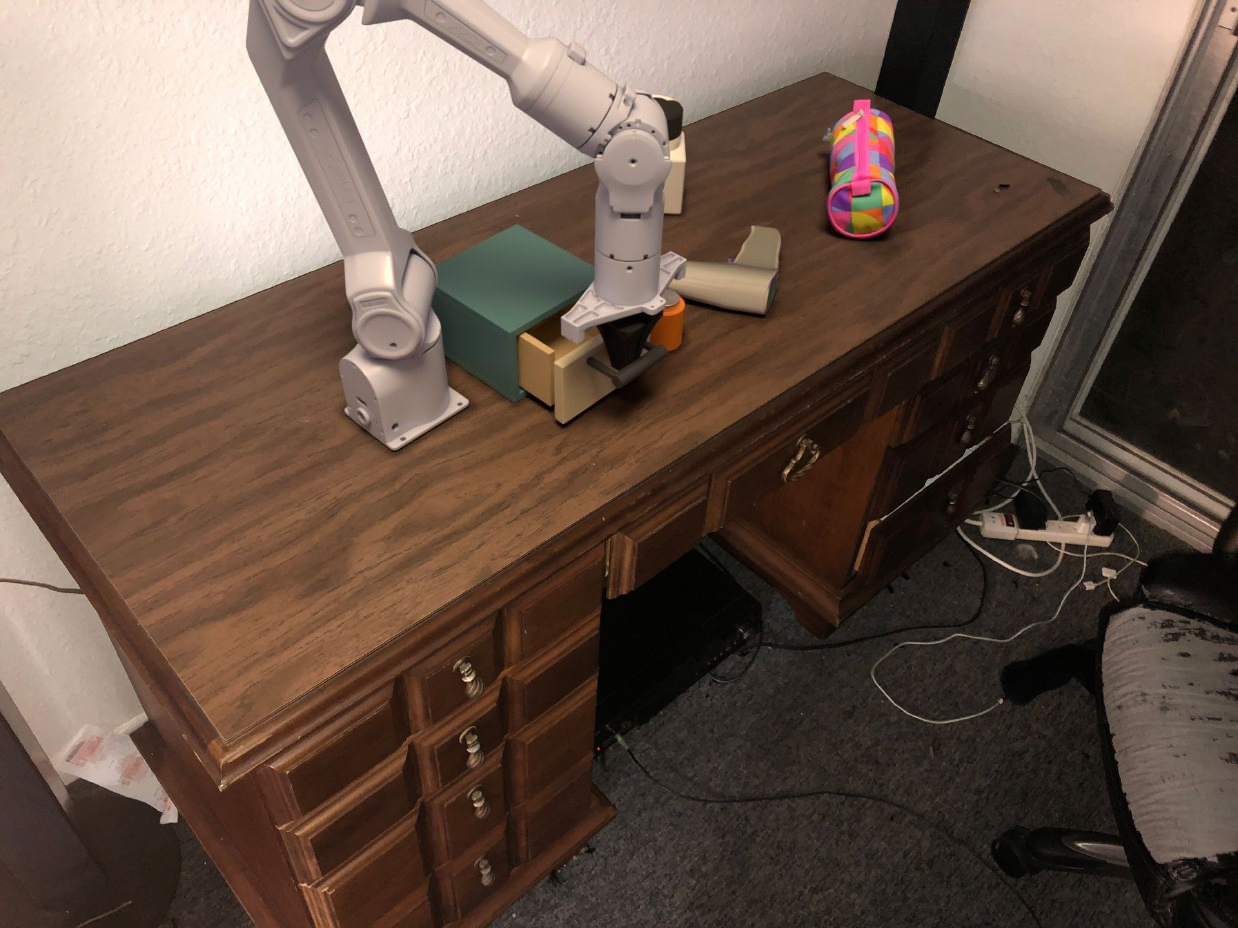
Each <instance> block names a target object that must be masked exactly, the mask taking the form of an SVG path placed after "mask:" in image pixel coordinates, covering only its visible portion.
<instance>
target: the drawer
mask: <svg viewBox="0 0 1238 928" xmlns="http://www.w3.org/2000/svg"><path fill="white" fill-rule="evenodd" d="M578 300H579V299H578ZM578 300H576V301H575V302H573V303H571V304H570V305H568V306H566V307H564V308H563V309H561V310H559V311H558V312H556V313H554V314H553V315H551V316H549V317H548V318H546V319H544V320H542V321H541V322H539V323H537V324H536V325H534V326H532V327H531V328H529V329H527V330H526V331H524V332H522V333H520V334H519V335H517V336H516V343H517V360H518V377H519V386H521V387H522V388H524V389H525V390H527V391H528V392H530V394H531V395H532V396H534V397H535V398H537V399H538V400H540V401H541V402H543V403H545V404H546V405H547V406H549V407H552V406H553V405H554V419H555V420H556V421H558V422H559V423H560V424H562V425H564V424H566V423H567V422H569V421H570V420H572V419H574V418H575V417H576V416H578V415H579V414H581V413H582V412H584V411H585V410H586V409H588V408H590V407H591V406H593V405H594V404H595V403H597V402H598V401H600V400H601V399H603V398H604V397H606V396H607V395H609V394H610V393H611V392H613V391H614V390H616V389H622V388H623V387H625V386H626V385H628V384H629V383H631V382H632V381H634V380H635V379H637V378H638V377H639V376H641V375H642V374H644V373H645V372H647V371H648V370H650V369H651V368H652V367H654V366H655V365H657V364H658V363H660V362H661V361H663V360H664V359H666V358H667V357H668V355H669V351H668V350H667V348H666V347H665V346H664V345H662V344H659V345H657V346H655V345H653V344H652V343H650V334H649V336H648V338H647V340H646V343H645V345H644V348H643V350H642V353H641V356H640V357H639V358H638V359H636V360H635V361H633V362H632V363H630V364H629V365H627V366H626V367H624V368H623V369H621V370H620V371H618V370H616V369H614V368H613V367H611V363H610V360H609V356H608V352H607V349H606V346H605V343H604V341H603V338H602V336H601V334H600V332H599V331H598V329H597V327H594V328H592V329H591V330H589V331H588V332H586V333H585V340H584V341H582V342H581V343H579V344H576V343H574V342H572V341H570V340H569V339H567V338H566V337H564V336H563V335H561V317H562V316H564V315H565V314H567V313H568V312H569V311H570V310H571V309H572V308H573V307H574V306H575V304H576V303H577V302H578Z"/></svg>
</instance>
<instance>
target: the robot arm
mask: <svg viewBox="0 0 1238 928" xmlns="http://www.w3.org/2000/svg"><path fill="white" fill-rule="evenodd" d="M248 3H249V4H248V13H247V23H246V24H247V25H246V34H245V35H246V36H245V48H246V52H247V55H248V58H249V60H250V62H251V64H252V67H253V69H254V71H255V73H256V75H257V77H258V80H259V81H260V83H261V85H262V88H263V89H264V92H265V94H266V96H267V98H268V100H269V102H270V105H271V106H272V110H273V111H274V113H275V115H276V117H277V119H278V122H279V124H280V125H281V128H282V130H283V132H284V134H285V136H286V138H287V141H288V143H289V144H290V148H291V149H292V151H293V153H294V155H295V157H296V159H297V162H298V164H299V167H300V168H301V170H302V172H303V175H304V176H305V179H306V180H307V183H308V185H309V187H310V189H311V192H312V193H313V196H314V197H315V200H316V202H317V204H318V206H319V208H320V210H321V212H322V215H323V217H324V219H325V221H326V223H327V225H328V227H329V229H330V232H331V234H332V236H333V239H334V240H335V242H336V244H337V246H338V249H339V251H340V254H341V255H342V258H343V267H344V285H345V295H346V300H347V301H348V303H349V305H350V308H351V311H352V319H351V331H352V334H353V337H354V339H355V341H356V343H357V344H356V345H355V347H353V348H352V349H351V350H350V351H349V352H348V353H347V354H346V355H345V356H343V357H342V358H341V359H340V360H339V362H338V372H339V377H340V381H341V385H342V389H343V395H344V398H345V404H346V407H345V408H344V415H346V416H347V417H348V418H350V419H351V420H352V421H354V423H356V424H357V425H359V426H360V427H362V428H363V429H364V430H365V431H367V433H369V434H370V435H372V436H373V437H374V438H375V439H377V440H378V441H379V442H380V443H382V444H383V445H384V446H385V447H387V448H389V450H391V451H398V450H400V449H401V448H404V447H405V446H406V445H408V444H410V443H411V442H413V441H414V440H416V439H417V438H419V437H421V436H422V435H424V434H426V433H427V432H429V431H430V430H432V429H433V428H435V427H437V426H438V425H440V424H442V423H444V422H445V421H446V420H448V419H450V418H452V417H453V416H454V415H456V414H457V413H460V412H461V411H463V410H464V409H466V408H467V407H469V406H470V401H469V399H468V398H466V397H465V396H463V395H462V394H460V393H459V392H458V391H456V390H455V389H453V388H452V387H451V386H449V381H448V372H447V365H446V357H445V356H444V348H443V340H442V332H441V325H440V322H439V320H438V318H437V316H436V315H435V313H434V311H433V309H432V307H431V303H432V299H433V294H434V293H435V290H436V287H437V284H438V273H437V269H436V267H435V265H436V264H434V262H433V260H432V259H431V258H430V257H429V256H428V255H427V254H426V253H424V251H422V250H421V249H420V248H419V246H418V245H417V243H416V241H415V239H414V236H413V234H412V232H411V231H410V230H408V229H406V228H402V227H400V226H399V225H398V222H397V219H396V217H395V215H394V212H393V209H392V207H391V205H390V203H389V200H388V198H387V196H386V193H385V190H384V188H383V186H382V183H381V181H380V179H379V177H378V174H377V171H376V169H375V166H374V164H373V161H372V160H371V157H370V155H369V152H368V149H367V147H366V145H365V142H364V141H363V137H362V135H361V132H360V131H359V128H358V126H357V124H356V121H355V118H354V115H353V114H352V111H351V109H350V107H349V104H348V101H347V99H346V96H345V93H344V92H343V89H342V87H341V85H340V82H339V79H338V78H337V75H336V72H335V70H334V67H333V65H332V62H331V60H330V57H329V56H328V53H327V51H326V43H327V40H328V39H329V37H330V34H331V32H333V31H334V30H335V29H336V28H338V27H339V26H340V25H341V24H342V23H344V22H345V21H346V19H348V18H349V16H351V15H352V13H353V11H354V10H355V8H356V6H357V7H361V8H363V12H362V16H361V26H362V25H363V26H374V25H379V24H384V23H391V22H397V21H403V20H408V21H412V22H413V23H415V24H416V25H418V26H420V27H421V28H422V29H425V30H426V31H428V32H429V33H431V34H432V35H434V36H436V37H437V38H439V39H440V40H442V41H443V42H445V43H447V44H448V45H449V46H452V47H453V48H454V49H456V50H458V52H459V51H460V52H461V53H462V54H464V55H466V56H467V57H468V58H471V59H472V60H473V61H475V62H477V63H478V64H480V65H482V66H483V67H485V68H486V69H488V70H489V71H491V72H493V73H494V74H496V75H497V76H499V77H500V78H502V79H504V81H506V83H507V86H508V89H509V93H510V98H511V102H512V105H513V106H514V107H515V108H517V109H518V110H519V111H521V112H523V113H524V114H525V115H527V116H528V117H530V118H531V119H532V120H534V121H536V122H537V123H538V124H540V125H541V126H543V127H544V128H546V129H547V130H548V131H550V132H551V133H552V134H553V135H555V136H557V137H558V138H559V139H561V140H562V141H564V142H566V144H568V145H569V146H571V147H572V148H574V149H575V150H576V151H578V152H579V153H582V154H583V155H585V156H588V157H590V158H592V159H593V166H594V171H595V173H596V175H597V177H598V180H599V181H598V182H599V184H598V186H597V190H596V193H595V197H594V198H595V202H594V203H595V205H594V206H595V208H594V210H595V211H594V218H595V219H594V267H595V268H594V281H593V282H592V284H591V285H590V286H589V287H588V289H587V290H586V291H585V293H584V294H583V295H582V296H581V298H580V299H579V300H578V302H577V303H576V304H575V306H574V307H573V308H572V309H571V310H570V311H569V312H568V313H567V314H565V315H564V316H562V317H561V335H563V336H564V337H566V338H567V339H569V340H570V341H572V342H574V343H576V344H579V343H581V342H582V341H584V340H585V333H586V332H588V331H589V330H591V329H592V328H594V327H597V329H598V331H599V332H600V334H601V336H602V338H603V341H604V343H605V346H606V349H607V352H608V356H609V360H610V363H611V367H613V368H614V369H616V370H618V371H620V370H621V369H623V368H624V367H626V366H627V365H629V364H630V363H632V362H633V361H635V360H636V359H638V358H639V357H640V356H641V353H642V350H643V348H644V345H645V343H646V340H647V338H648V336H649V334H650V333H651V331H652V329H653V328H654V326H655V325H656V323H657V322H658V321H659V319H660V318H661V317H662V316H663V310H664V308H665V307H666V300H665V299H664V298H662V295H663V294H664V292H665V291H666V289H668V286H669V285H670V283H671V282H672V280H673V279H675V280H680V279H682V278H684V277H685V273H686V263H687V258H685V257H683V256H681V255H679V254H677V253H675V252H673V251H668V252H667V253H665V254H662V247H663V230H664V220H665V219H664V217H665V214H664V205H665V196H664V192H663V189H664V186H665V180H666V178H667V177H668V175H669V173H670V170H671V166H672V161H671V160H670V148H669V138H668V127H667V120H666V117H665V114H664V112H663V110H662V108H661V106H660V105H659V104H658V103H657V101H655V100H654V99H653V97H652V95H653V94H651V92H649V91H647V90H644V89H639V88H633V87H632V86H631V85H629V84H627V83H625V84H624V85H623V87H622V86H621V85H620V84H618V83H617V82H616V81H614V80H613V79H611V77H609V76H608V75H606V73H604V72H602V71H601V70H600V69H599V68H597V67H596V66H595V65H593V64H592V63H591V62H589V61H588V60H586V59H587V50H586V48H585V47H583V46H582V45H581V44H579V43H578V42H577V41H575V40H571V41H570V42H569V44H568V45H566V43H564V42H563V41H562V40H560V39H559V38H558V37H555V36H546V37H536V38H530V37H528V36H527V35H525V33H523V32H522V31H521V30H519V28H518V27H516V26H515V25H514V24H513V23H511V22H510V21H509V20H508V19H506V18H505V17H504V16H502V15H501V14H500V13H499V12H497V11H496V9H494V8H493V7H491V5H489V4H488V3H487V2H485V1H484V0H249V2H248Z"/></svg>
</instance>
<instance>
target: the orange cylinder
mask: <svg viewBox="0 0 1238 928" xmlns="http://www.w3.org/2000/svg"><path fill="white" fill-rule="evenodd" d="M662 298H664V299H665V300H666V307H665V308H664V310H663V316H662V317H661V318H660V319H659V321H658V322H657V323H656V325H655V326H654V328H653V329H652V331H651V333H650V343H652V344H653V345H655V346H657V345H659V344H662V345H664V346H665V347H666V348H667V350H668V352H672V351H675V350H676V349H678V348H679V347H680V346H681V344H682V341H683V331H684V320H685V312H686V311H685V309H686V303H685V300H684V298H683V297H681V296H679V295H678V293H676V292H675V291H673V290H669V289H668V288H667V289H666V291H665V292H664V294H663V295H662Z"/></svg>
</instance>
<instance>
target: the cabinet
mask: <svg viewBox="0 0 1238 928" xmlns="http://www.w3.org/2000/svg"><path fill="white" fill-rule="evenodd" d="M434 265H435V267H436V269H437V273H438V284H437V287H436V290H435V293H434V294H433V299H432V303H431V307H432V309H433V311H434V313H435V315H436V316H437V318H438V320H439V322H440V325H441V332H442V340H443V348H444V356H445V358H447V359H448V360H450V361H451V362H452V363H454V364H456V365H457V366H459V367H460V368H462V369H463V370H464V371H466V372H468V373H469V374H470V375H472V376H473V377H475V378H476V379H478V380H479V381H480V382H482V383H483V384H485V385H487V387H489V388H491V389H492V390H493V391H495V392H497V393H498V394H500V395H501V396H502V397H504V398H505V399H507V400H508V401H509V402H511V403H513V404H516V403H517V402H519V401H521V400H522V399H524V398H526V397H527V396H529V395H530V394H531V393H530V392H528V391H527V390H525V389H524V388H522V387H521V386H519V377H518V360H517V343H516V336H517V335H519V334H520V333H522V332H524V331H526V330H527V329H529V328H531V327H532V326H534V325H536V324H537V323H539V322H541V321H542V320H544V319H546V318H548V317H549V316H551V315H553V314H554V313H556V312H558V311H559V310H561V309H563V308H564V307H566V306H568V305H570V304H571V303H573V302H575V301H576V300H578V299H580V298H581V296H582V295H583V294H584V293H585V291H586V290H587V289H588V287H589V286H590V285H591V284H592V282H593V281H594V268H595V265H593V264H590V263H589V262H587V261H585V260H583V259H581V258H580V257H578V256H576V255H574V254H572V253H571V252H569V251H567V250H566V249H564V248H562V247H560V246H558V245H556V244H554V243H553V242H551V241H549V240H547V239H545V238H543V237H542V236H540V235H538V234H536V233H534V232H533V231H531V230H529V229H527V228H525V227H524V226H522V225H520V224H518V223H516V224H514V225H512V226H510V227H508V228H506V229H503V230H502V231H500V232H498V233H496V234H494V235H492V236H490V237H488V238H486V239H484V240H482V241H481V242H478V243H477V244H475V245H473V246H471V247H468V248H467V249H465V250H463V251H461V252H459V253H457V254H455V255H452V256H451V257H449V258H447V259H445V260H443V261H441V262H439V263H437V264H434Z"/></svg>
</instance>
